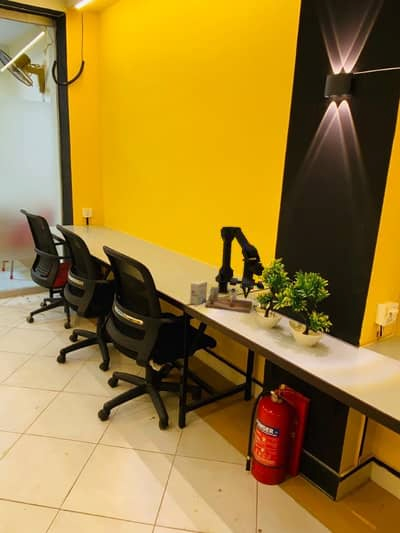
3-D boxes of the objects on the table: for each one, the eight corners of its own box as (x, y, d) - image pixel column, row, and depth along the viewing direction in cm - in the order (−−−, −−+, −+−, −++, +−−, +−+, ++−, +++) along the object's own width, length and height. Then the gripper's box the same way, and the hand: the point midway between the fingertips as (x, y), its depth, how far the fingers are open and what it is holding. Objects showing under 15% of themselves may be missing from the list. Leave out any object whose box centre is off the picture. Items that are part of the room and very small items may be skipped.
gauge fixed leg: (211, 296, 221) (212, 286, 220) (218, 297, 220) (219, 287, 219) (208, 302, 212) (208, 291, 211) (215, 303, 211) (216, 292, 210)
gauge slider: (229, 299, 219) (230, 287, 217) (236, 300, 218) (237, 288, 217) (227, 304, 210) (228, 292, 208) (234, 305, 210) (235, 293, 208)
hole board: (209, 299, 222) (209, 294, 221) (251, 305, 218) (252, 300, 217) (204, 307, 210) (205, 302, 209) (249, 313, 206) (250, 308, 205)
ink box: (199, 299, 221) (200, 279, 218) (206, 301, 218) (208, 281, 215) (189, 303, 214) (190, 282, 211) (196, 305, 211) (198, 284, 208)
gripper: (229, 272, 205) (226, 300, 209) (265, 277, 201) (261, 305, 206) (232, 267, 216) (229, 294, 220) (266, 271, 212) (263, 298, 216)
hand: (245, 298), depth 215 cm, fingers closed
